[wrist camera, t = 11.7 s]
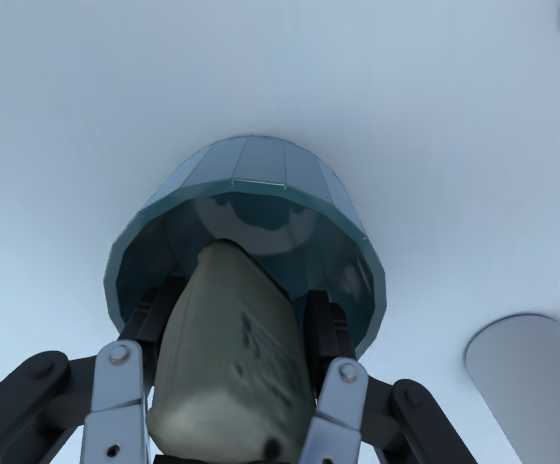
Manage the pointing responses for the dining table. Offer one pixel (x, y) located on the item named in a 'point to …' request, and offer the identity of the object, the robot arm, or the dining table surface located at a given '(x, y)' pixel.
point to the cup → (521, 383)
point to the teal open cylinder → (254, 231)
